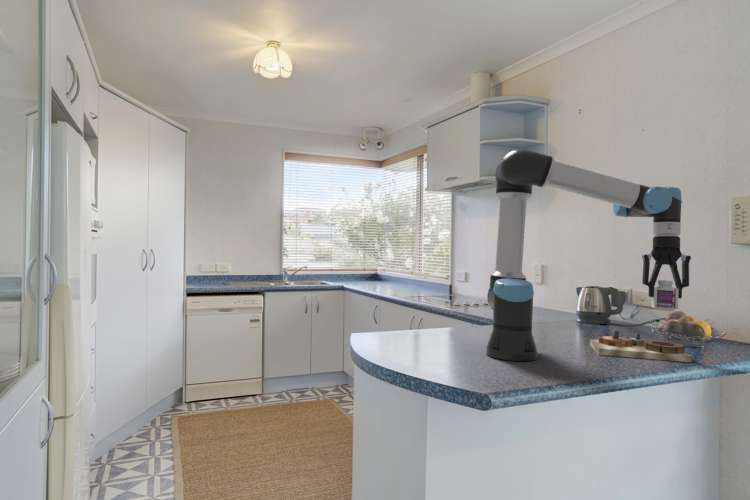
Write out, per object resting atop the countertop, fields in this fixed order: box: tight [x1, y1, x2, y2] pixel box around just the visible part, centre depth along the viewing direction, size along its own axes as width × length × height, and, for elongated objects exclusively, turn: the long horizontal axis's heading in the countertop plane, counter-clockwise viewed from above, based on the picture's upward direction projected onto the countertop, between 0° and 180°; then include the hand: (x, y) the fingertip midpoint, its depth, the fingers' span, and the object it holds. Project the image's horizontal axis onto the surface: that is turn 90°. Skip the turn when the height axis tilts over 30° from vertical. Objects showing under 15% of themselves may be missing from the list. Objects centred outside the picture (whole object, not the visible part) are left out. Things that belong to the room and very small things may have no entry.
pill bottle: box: [654, 279, 675, 312], centre depth 151 cm, size 5×5×10 cm
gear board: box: [589, 329, 693, 363], centre depth 155 cm, size 26×17×6 cm, turn 74°
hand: (664, 307), depth 151 cm, fingers closed on pill bottle, 5 cm apart
